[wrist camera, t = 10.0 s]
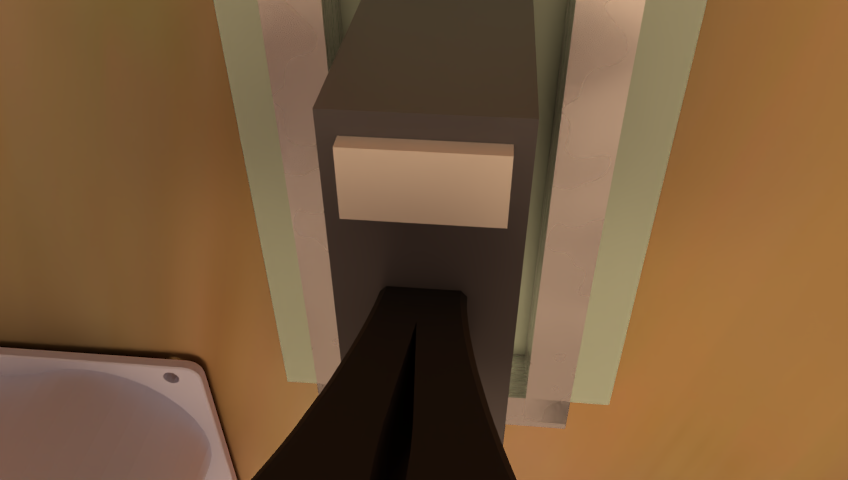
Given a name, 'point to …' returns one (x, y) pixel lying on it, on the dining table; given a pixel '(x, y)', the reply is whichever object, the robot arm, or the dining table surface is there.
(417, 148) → the brown block
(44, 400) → the robot arm
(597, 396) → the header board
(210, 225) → the dining table surface
